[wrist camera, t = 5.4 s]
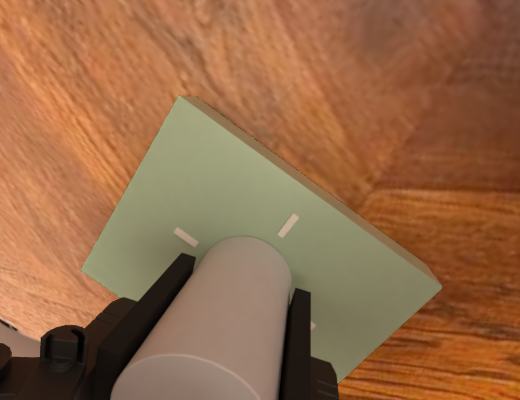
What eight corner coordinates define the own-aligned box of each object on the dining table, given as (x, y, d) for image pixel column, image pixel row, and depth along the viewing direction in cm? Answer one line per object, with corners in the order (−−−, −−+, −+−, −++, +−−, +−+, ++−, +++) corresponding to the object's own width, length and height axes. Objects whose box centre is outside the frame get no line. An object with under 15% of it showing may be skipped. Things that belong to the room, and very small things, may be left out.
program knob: (288, 234, 16) (264, 366, 8) (294, 319, 18) (279, 509, 9) (194, 236, 17) (85, 359, 9) (207, 317, 19) (122, 490, 10)
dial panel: (426, 264, 18) (444, 289, 16) (299, 387, 22) (297, 423, 19) (196, 96, 18) (177, 94, 15) (105, 252, 21) (77, 271, 19)
